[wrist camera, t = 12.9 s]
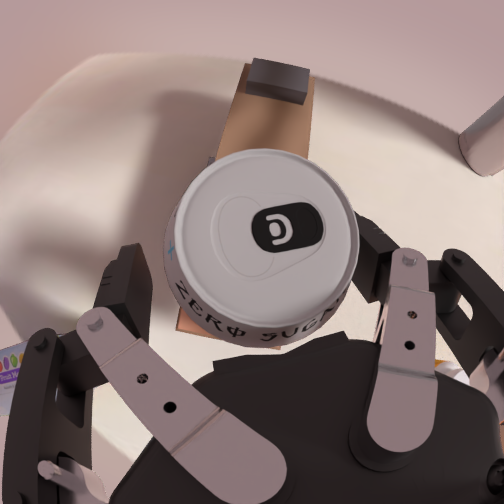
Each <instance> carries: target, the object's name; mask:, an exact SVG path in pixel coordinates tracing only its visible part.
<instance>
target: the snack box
mask: <svg viewBox="0 0 504 504" xmlns="http://www.w3.org/2000/svg"><path fill="white" fill-rule="evenodd" d="M57 335H58V337H60V336H62V335H65V334H57ZM28 341H29V340H28ZM28 341H25V342H22V343H19V344H16V345H13V346H11V347H7V348H5V349H2V350H0V416H7V415H9V414H10V409H11V404H12V399H13V394H14V390H15V385H16V381H17V377H18V373H19V369H20V366H21V362H22V358H23V355H24V352H25V348H26V345H27V343H28ZM97 387H98V386H97ZM97 387H95V388H97ZM95 388H93V389H95ZM57 389H58V388H57ZM56 396H57V391H56Z"/></svg>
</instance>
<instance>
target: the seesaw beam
mask: <svg viewBox="0 0 504 504" xmlns="http://www.w3.org/2000/svg"><path fill="white" fill-rule="evenodd" d="M309 72H310V70H309V69H306V68H302V67H298V66H293V65H289V64H284V63H279V62H274V61H269V60H264V59H258V58H254V59H253V62H252V64H247V63H245V66H244V68H243V71H242V74H241V77H240V80H239V83H238V86H237V90H236V93H235V96H234V99H233V102H232V105H231V108H230V112H229V115H228V118H227V121H226V125H225V128H224V131H223V135H222V138H221V141H220V145H219V148H218V152H217V155H216V159H215V161H216V160H218V159H221V158H223V157H225V156H227V155H230V154H232V153H235V152H240V151H244V150H248V149H263V148H267V149H275V150H283V151H286V152H290V153H293V154H296V155H299V156H301V157H303V158H305V159H307V160H308V150H309V140H310V130H311V119H312V107H313V95H314V82H315V78H314V77H310V76H309ZM211 164H212V162H211V163H210V165H211ZM176 331H180V332H185V333H189V334H194V335H199V336H204V337H208V338H213V339H219V340H222V339H220V338H218V337H216V336H214V335H212V334H210V333H208V332H206V331H205V330H204V329H203V328H201V327H200V326H199V325H198V324H196V323H195V322H194V321H193V320H192V319H191V318H190V317H189V316H188V315H187V313H186V312H185V311H184V310H183V309H182V307H181V306H180V309H179V314H178V319H177V324H176ZM280 348H281V346H277V347H271V348H270V349H277V350H280Z"/></svg>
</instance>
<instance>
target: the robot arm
mask: <svg viewBox="0 0 504 504" xmlns="http://www.w3.org/2000/svg"><path fill="white" fill-rule="evenodd" d="M459 145H460V149H461V152H462V154H463V156H464V158H465V160H466V161H467V163H468V164H469V165H470V167H471V168H472V169H473V170H474V171H475V172H476V173H478V174H479V175H481V176H488V175H492V176H493V175H495V174H496V173H498V172H499V171H501V170H503V169H504V96H503V97H502V98H501V99H500V100H499V101H498V102H497V103H496V104H494V105H493V106H492V107H491V108H490V109H489V110H488V111H487V112H485V113H484V114H483V115H482V116H481V117H480V118H479V119H477V120H476V121H475V122H474V123H473V124H472V125H470V126H469V127H468V128H467V129H466V130H465V131H464V132H462V133H461V134H460V136H459ZM353 211H354V210H353ZM354 213H355V217H356V221H357V225H358V229H359V253H358V260H357V265H356V268H355V270H354V273H353V276H352V278H351V280H352V281H353V283H354V284H355V286H356V287H357V288H358V290H359V291H360V293H361V294H362V295H363V297H364V298H365V300H366V301H367V303H368V304H369V303H372V302H375V301H380V303H381V304H380V307H379V312H378V317H377V322H376V327H375V332H374V337H373V342H371V341H366V340H358V339H348V337H347V336H346V334H345V332H344V331H341V332H337V333H334V334H330V335H327V336H323V337H319V338H316V339H313V340H311V341H309V342H307V343H305V344H303V345H301V346H299V347H297V348H295V349H293V350H291V351H289V352H287V353H285V354H279V355H243V356H238V357H233V358H228V359H222V360H217V361H213V368H214V371H213V372H211V373H208V374H206V375H205V376H203V377H201V378H200V379H198V380H197V381H195V382H194V383H193V384H192V385H191V384H189V383H188V382H187V381H186V380H185V379H184V378H183V377H182V376H180V375H179V374H178V373H177V372H176V371H175V370H174V369H173V368H172V367H171V366H169V365H168V364H167V363H166V362H165V361H164V360H163V359H162V358H161V357H160V356H159V355H158V354H157V353H156V352H155V351H154V350H153V349H152V348H151V347H150V346H149V345H148V344H149V327H150V313H151V301H152V290H153V285H152V278H151V274H150V271H149V268H148V266H147V263H146V260H145V257H144V254H143V251H142V248H141V245H140V244H139V243H136V244H131V245H126V246H122V247H121V249H120V252H119V255H118V258H117V260H113V261H111V262H110V264H109V265H108V266H107V267H106V268H105V270H104V273H103V276H102V279H101V283H100V287H99V289H98V292H97V296H96V299H95V302H94V306H93V309H91V310H89V311H87V312H86V313H84V314H83V315H82V316H81V317H80V319H79V320H78V322H77V325H76V330H74V331H72V332H69V333H67V334H65V335H62V336H60V337H58V335H57V334H56V332H55V331H54V330H52V329H50V328H45V329H41V330H39V331H37V332H36V333H35V334H34V335H32V337H31V338H30V339H29V341H28V343H27V345H26V348H25V352H24V355H23V358H22V362H21V366H20V369H19V373H18V377H17V381H16V385H15V390H14V394H13V399H12V404H11V409H10V414H9V420H8V427H7V433H6V441H5V450H4V461H3V478H2V501H3V504H504V453H503V449H502V444H501V437H500V426H499V425H504V291H503V290H502V289H501V288H500V287H499V286H498V285H497V284H496V283H495V282H494V280H493V279H492V278H491V277H490V276H489V275H488V274H487V273H486V272H485V271H484V270H483V269H482V268H481V267H480V266H479V265H478V264H477V263H476V262H475V261H474V260H473V259H472V258H471V257H470V256H469V255H468V254H466V253H465V252H463V251H461V250H458V249H447V250H445V251H444V253H443V256H442V259H441V260H427V259H426V257H425V256H424V255H423V254H422V253H420V252H419V251H417V250H414V249H411V248H400V247H399V246H398V245H397V244H396V243H395V242H394V241H393V240H392V239H391V238H390V237H389V236H388V235H387V234H386V233H385V234H384V232H383V231H382V230H381V229H380V228H379V227H378V226H377V225H376V224H375V223H374V222H373V221H371V220H369V219H367V218H365V217H363V216H360V215H359V214H357V213H356V212H355V211H354ZM461 295H463V297H464V298H465V299H466V300H467V301H468V303H469V304H470V305H471V307H472V310H473V317H472V319H471V321H470V319H469V318H468V317H467V316H466V314H465V313H464V312H463V310H462V309H461V308H460V307H459V305H458V302H459V299H460V297H461ZM436 328H437V330H438V331H439V333H440V334H441V336H442V337H443V339H444V340H445V342H446V343H447V345H448V346H449V348H450V349H451V351H452V352H453V354H454V355H455V357H456V358H457V360H458V362H459V363H460V365H461V366H462V368H463V370H464V371H465V373H466V375H467V376H468V378H469V384H470V386H469V385H467V384H465V383H462V382H460V381H458V380H456V379H454V378H451V377H449V376H447V375H445V374H442V373H440V372H438V371H436V370H435V348H436ZM108 382H110V383H111V385H112V386H113V387H114V389H115V390H116V391H117V393H118V394H119V395H120V397H121V398H122V399H123V400H124V402H125V403H126V404H127V405H128V407H129V408H130V409H131V410H132V412H133V413H134V414H135V415H136V416H137V418H138V419H139V420H140V421H141V422H142V423H143V425H144V426H145V427H146V428H147V429H148V430H149V431H150V432H151V434H152V435H153V437H152V438H151V440H150V441H149V443H148V444H147V445H146V447H145V448H144V450H143V451H142V452H141V454H140V455H139V457H138V458H137V459H136V461H135V462H134V464H133V465H132V466H131V468H130V469H129V471H128V472H127V473H126V475H125V476H124V477H123V479H122V480H121V482H120V483H119V484H118V486H117V487H116V489H115V490H114V491H113V493H112V495H111V497H110V499H109V498H108V496H107V495H106V492H105V488H104V485H103V482H102V480H101V478H100V477H99V476H98V475H97V474H96V473H95V472H93V471H92V460H91V459H92V458H91V426H92V401H93V388H95V387H97V386H100V385H103V384H105V383H108ZM57 388H58V389H57ZM56 391H57V396H56Z"/></svg>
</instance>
